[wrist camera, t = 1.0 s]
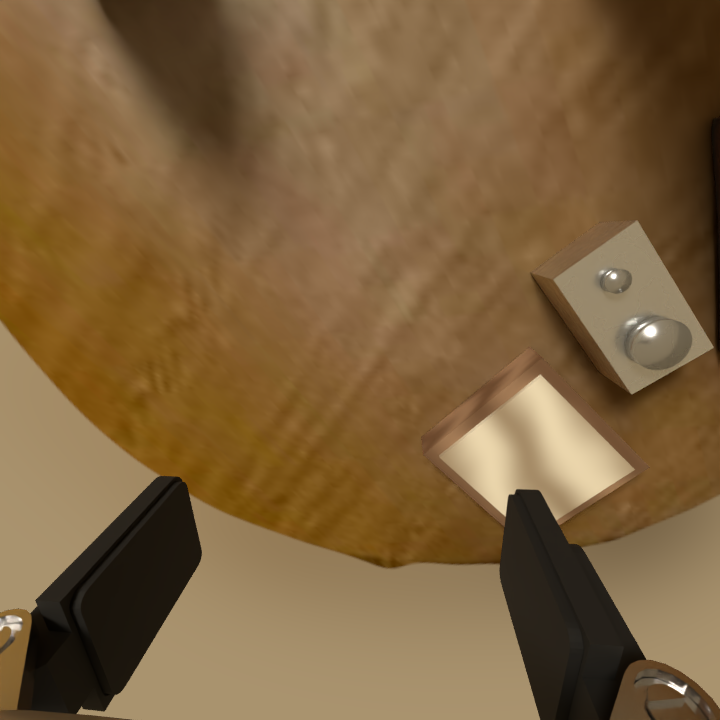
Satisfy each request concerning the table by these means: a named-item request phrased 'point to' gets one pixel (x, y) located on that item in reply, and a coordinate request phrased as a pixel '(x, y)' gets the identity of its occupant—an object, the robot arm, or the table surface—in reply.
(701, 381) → the table surface
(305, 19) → the table surface
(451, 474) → the stand
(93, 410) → the table surface
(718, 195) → the sunglasses case
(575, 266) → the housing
